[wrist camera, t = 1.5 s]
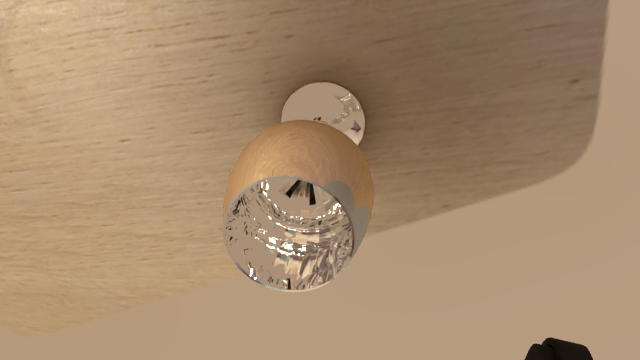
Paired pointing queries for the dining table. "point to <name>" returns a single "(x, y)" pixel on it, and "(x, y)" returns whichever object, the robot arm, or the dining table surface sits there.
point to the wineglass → (301, 193)
